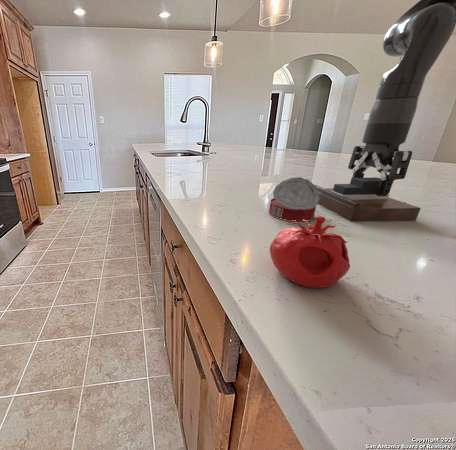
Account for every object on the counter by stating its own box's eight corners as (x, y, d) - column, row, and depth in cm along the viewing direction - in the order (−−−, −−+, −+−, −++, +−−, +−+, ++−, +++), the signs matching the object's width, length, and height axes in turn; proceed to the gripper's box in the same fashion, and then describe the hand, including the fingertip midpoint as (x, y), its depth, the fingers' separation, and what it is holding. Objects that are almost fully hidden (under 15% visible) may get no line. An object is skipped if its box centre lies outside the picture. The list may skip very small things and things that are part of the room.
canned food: (307, 230, 62) (338, 201, 55) (284, 236, 57) (316, 204, 50) (276, 201, 68) (301, 171, 61) (253, 204, 63) (277, 172, 56)
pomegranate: (254, 262, 40) (262, 209, 37) (305, 254, 42) (318, 203, 39) (299, 301, 31) (316, 236, 28) (362, 289, 33) (385, 226, 30)
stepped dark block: (373, 194, 64) (378, 177, 62) (388, 199, 59) (394, 181, 58) (330, 194, 64) (334, 178, 62) (341, 200, 60) (346, 181, 58)
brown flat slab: (357, 197, 71) (361, 183, 69) (415, 220, 54) (423, 202, 53) (308, 198, 72) (311, 184, 70) (350, 221, 55) (356, 203, 53)
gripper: (439, 120, 48) (408, 199, 54) (380, 121, 61) (361, 184, 67) (399, 121, 48) (373, 199, 55) (349, 122, 62) (333, 185, 68)
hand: (367, 191), depth 61 cm, fingers open, 8 cm apart
